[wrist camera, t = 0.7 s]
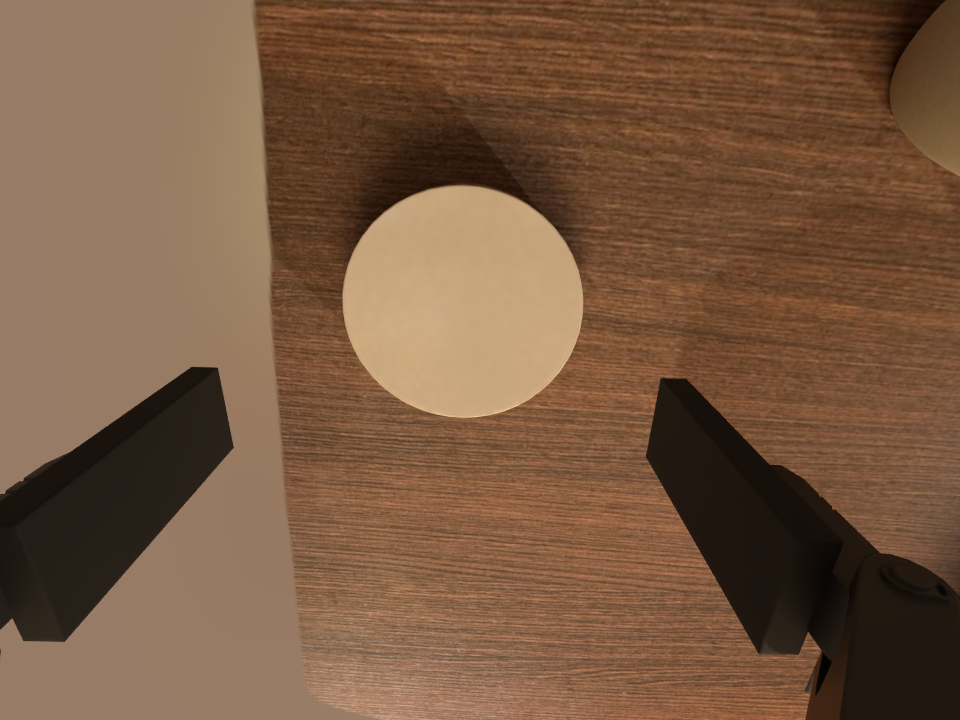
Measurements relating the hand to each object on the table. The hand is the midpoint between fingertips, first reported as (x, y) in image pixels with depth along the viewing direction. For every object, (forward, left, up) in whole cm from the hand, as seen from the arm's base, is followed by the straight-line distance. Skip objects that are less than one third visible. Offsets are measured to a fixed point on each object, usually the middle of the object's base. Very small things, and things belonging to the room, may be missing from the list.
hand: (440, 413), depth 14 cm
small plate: (0, 0, -13) cm, 13 cm away
